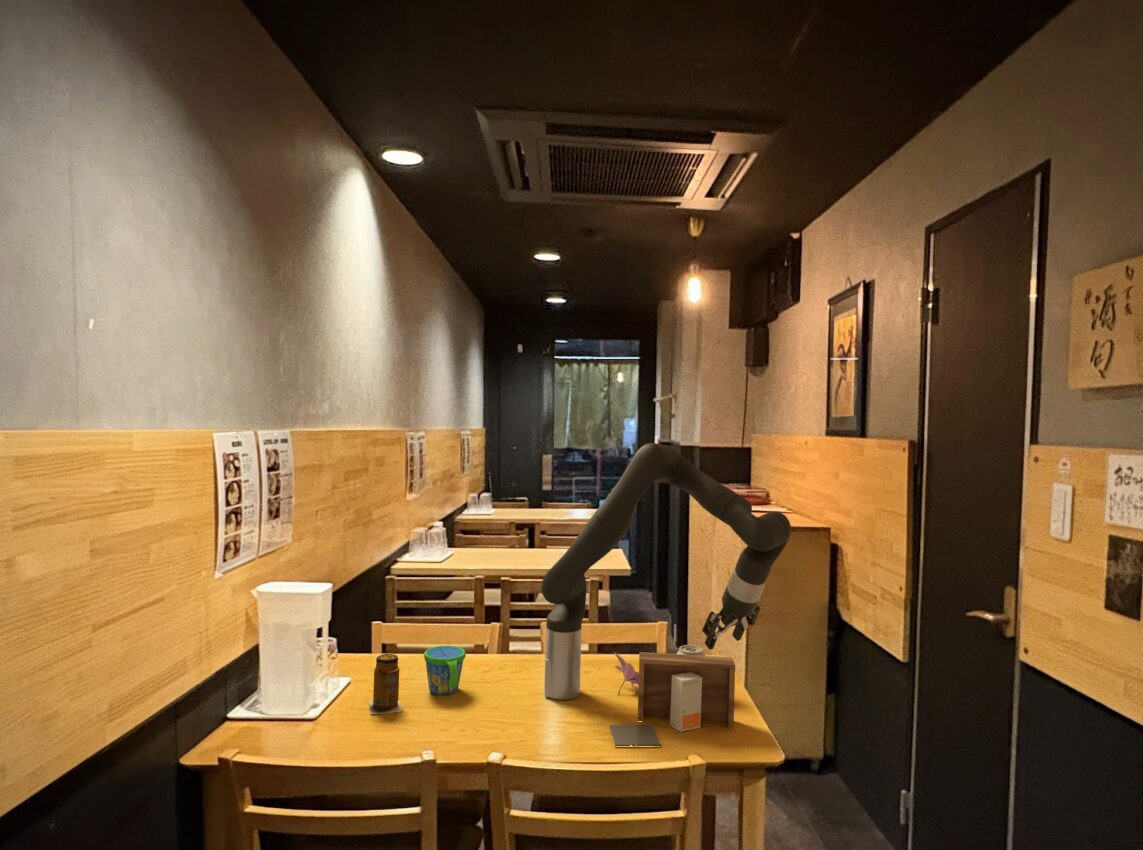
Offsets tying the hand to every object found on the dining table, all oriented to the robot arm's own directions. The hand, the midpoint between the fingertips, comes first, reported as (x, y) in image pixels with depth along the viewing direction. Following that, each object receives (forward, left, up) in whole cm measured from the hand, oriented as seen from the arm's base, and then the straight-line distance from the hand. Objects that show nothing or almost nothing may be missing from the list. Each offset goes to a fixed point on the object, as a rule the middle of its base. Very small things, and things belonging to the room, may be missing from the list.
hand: (722, 642), depth 158 cm
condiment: (-80, +13, -21) cm, 84 cm away
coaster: (-21, -4, -20) cm, 29 cm away
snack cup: (-67, +23, -20) cm, 74 cm away
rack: (-7, +4, -20) cm, 22 cm away
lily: (-18, +23, -21) cm, 35 cm away
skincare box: (-8, +1, -20) cm, 22 cm away
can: (-2, +21, -20) cm, 30 cm away
